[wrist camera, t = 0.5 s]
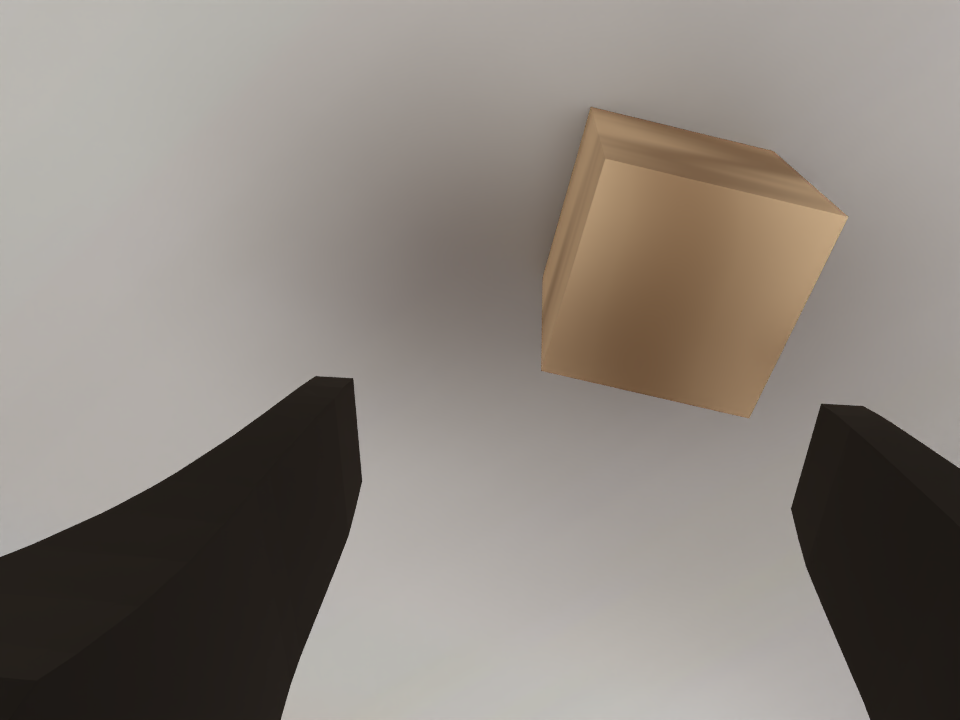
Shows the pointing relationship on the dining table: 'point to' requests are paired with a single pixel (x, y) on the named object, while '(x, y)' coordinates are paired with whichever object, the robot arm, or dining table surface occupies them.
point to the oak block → (680, 263)
